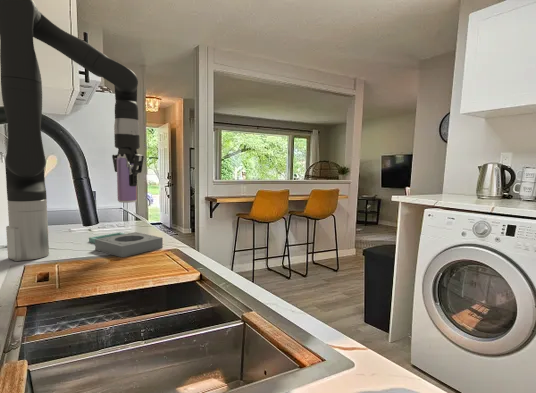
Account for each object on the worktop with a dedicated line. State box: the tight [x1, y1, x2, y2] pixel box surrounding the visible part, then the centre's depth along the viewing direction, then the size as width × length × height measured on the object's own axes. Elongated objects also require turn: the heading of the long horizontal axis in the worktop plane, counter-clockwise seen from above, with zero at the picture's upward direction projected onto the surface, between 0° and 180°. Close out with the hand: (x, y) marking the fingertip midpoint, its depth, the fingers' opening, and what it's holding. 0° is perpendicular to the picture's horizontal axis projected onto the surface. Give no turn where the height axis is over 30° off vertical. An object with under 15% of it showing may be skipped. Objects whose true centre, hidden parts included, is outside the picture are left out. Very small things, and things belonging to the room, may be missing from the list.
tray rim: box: [88, 232, 126, 244], centre depth 116 cm, size 12×12×2 cm
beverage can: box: [116, 156, 138, 204], centre depth 104 cm, size 6×6×15 cm
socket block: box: [94, 231, 164, 258], centre depth 106 cm, size 15×15×4 cm
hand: (128, 185), depth 104 cm, fingers closed on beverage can, 4 cm apart
